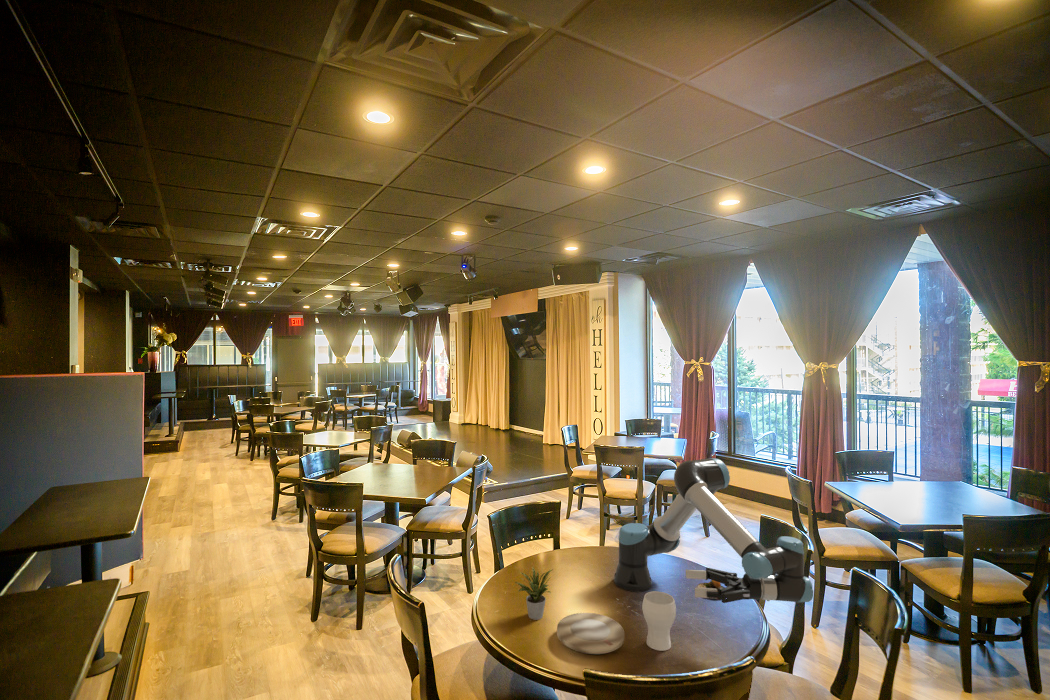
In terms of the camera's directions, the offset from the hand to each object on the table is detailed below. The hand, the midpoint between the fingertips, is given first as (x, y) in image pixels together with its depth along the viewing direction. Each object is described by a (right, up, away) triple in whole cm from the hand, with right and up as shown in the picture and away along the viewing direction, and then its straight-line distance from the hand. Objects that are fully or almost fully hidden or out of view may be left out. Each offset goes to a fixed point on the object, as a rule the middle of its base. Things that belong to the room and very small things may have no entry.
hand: (690, 582), depth 164 cm
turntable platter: (-32, -18, +3) cm, 37 cm away
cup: (-10, -21, +1) cm, 23 cm away
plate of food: (+21, -22, +38) cm, 49 cm away
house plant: (-49, -20, +19) cm, 57 cm away
